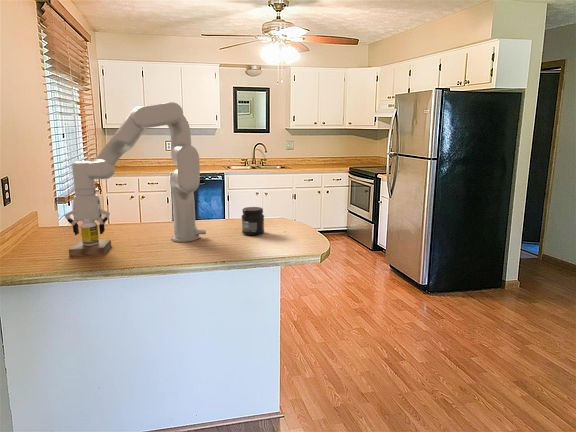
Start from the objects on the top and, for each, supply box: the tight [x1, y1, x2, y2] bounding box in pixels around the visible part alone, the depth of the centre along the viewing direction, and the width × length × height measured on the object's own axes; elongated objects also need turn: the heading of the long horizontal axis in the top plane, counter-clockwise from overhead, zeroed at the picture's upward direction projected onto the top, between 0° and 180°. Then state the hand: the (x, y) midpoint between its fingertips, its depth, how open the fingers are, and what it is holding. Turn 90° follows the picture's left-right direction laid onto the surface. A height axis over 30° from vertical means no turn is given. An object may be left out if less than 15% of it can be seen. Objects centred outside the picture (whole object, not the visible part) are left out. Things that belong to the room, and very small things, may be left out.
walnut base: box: [68, 239, 112, 258], centre depth 185 cm, size 13×13×3 cm
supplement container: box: [241, 206, 265, 237], centre depth 212 cm, size 10×10×12 cm
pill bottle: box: [80, 219, 100, 246], centre depth 184 cm, size 6×6×11 cm
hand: (89, 233), depth 184 cm, fingers open, 9 cm apart
